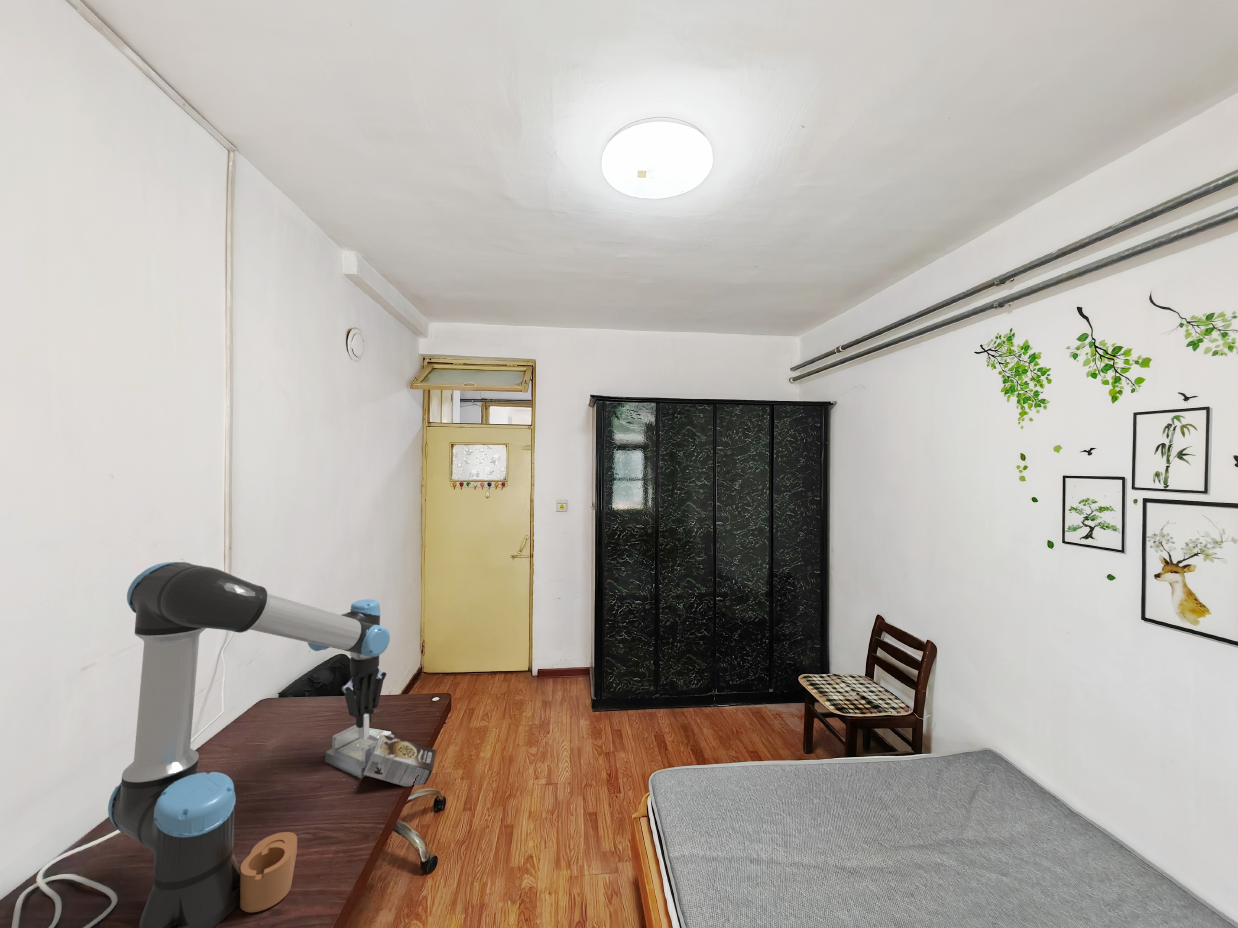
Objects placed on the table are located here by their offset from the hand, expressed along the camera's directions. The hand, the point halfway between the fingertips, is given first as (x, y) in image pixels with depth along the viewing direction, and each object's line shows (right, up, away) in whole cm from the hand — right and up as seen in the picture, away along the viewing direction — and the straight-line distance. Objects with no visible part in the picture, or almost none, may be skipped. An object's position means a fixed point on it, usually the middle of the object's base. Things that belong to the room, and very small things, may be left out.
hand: (363, 736), depth 144 cm
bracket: (+1, -7, -41) cm, 41 cm away
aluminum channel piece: (0, -7, 0) cm, 7 cm away
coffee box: (+7, +1, -10) cm, 13 cm away
